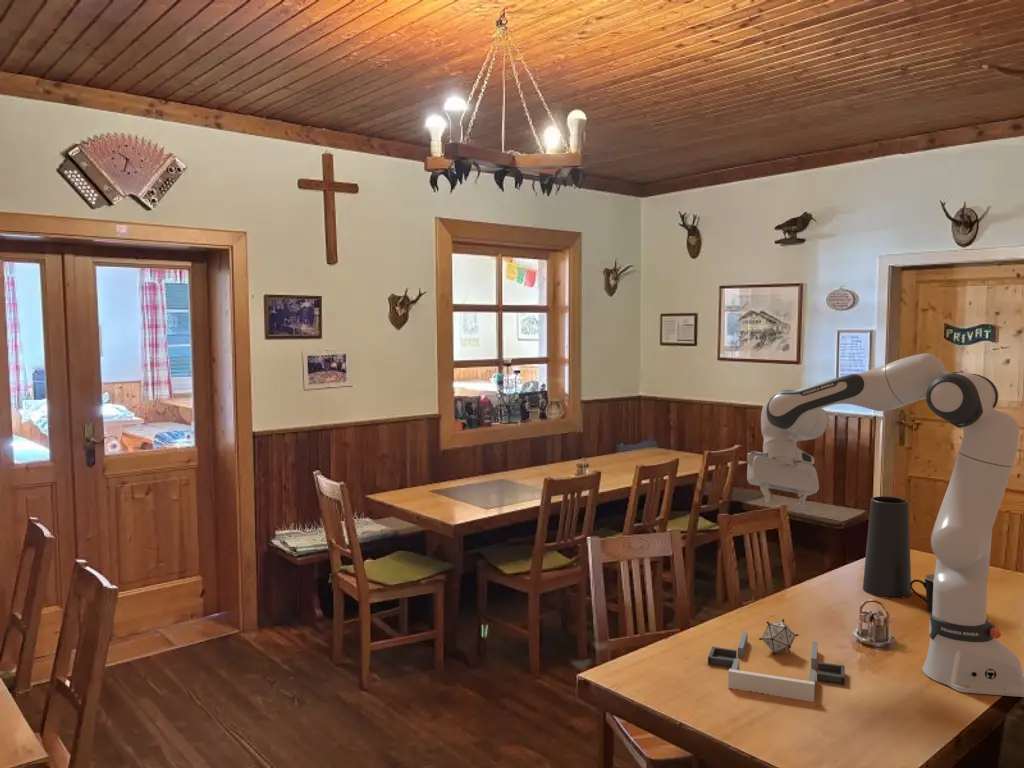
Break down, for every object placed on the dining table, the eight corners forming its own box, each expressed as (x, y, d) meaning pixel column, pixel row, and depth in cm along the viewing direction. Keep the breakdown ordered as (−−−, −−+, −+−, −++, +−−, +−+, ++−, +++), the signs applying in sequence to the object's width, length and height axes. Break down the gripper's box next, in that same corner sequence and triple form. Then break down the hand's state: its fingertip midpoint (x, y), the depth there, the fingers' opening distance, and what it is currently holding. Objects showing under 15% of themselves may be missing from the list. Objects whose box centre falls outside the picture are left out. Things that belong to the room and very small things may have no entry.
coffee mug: (963, 614, 229) (964, 580, 228) (947, 620, 224) (948, 585, 224) (923, 602, 239) (924, 569, 238) (907, 608, 234) (908, 575, 233)
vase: (859, 593, 247) (861, 501, 245) (867, 581, 258) (869, 493, 256) (907, 601, 240) (911, 506, 237) (914, 589, 251) (917, 498, 249)
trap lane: (844, 655, 201) (844, 639, 201) (844, 707, 174) (845, 689, 174) (718, 637, 213) (718, 623, 213) (700, 683, 186) (700, 666, 185)
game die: (785, 669, 202) (801, 647, 196) (752, 654, 203) (768, 633, 197) (788, 640, 209) (804, 619, 203) (757, 627, 210) (772, 605, 204)
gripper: (753, 445, 212) (757, 494, 206) (819, 458, 217) (825, 507, 211) (740, 453, 218) (743, 502, 211) (805, 466, 223) (810, 514, 216)
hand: (785, 504), depth 211 cm, fingers open, 8 cm apart
